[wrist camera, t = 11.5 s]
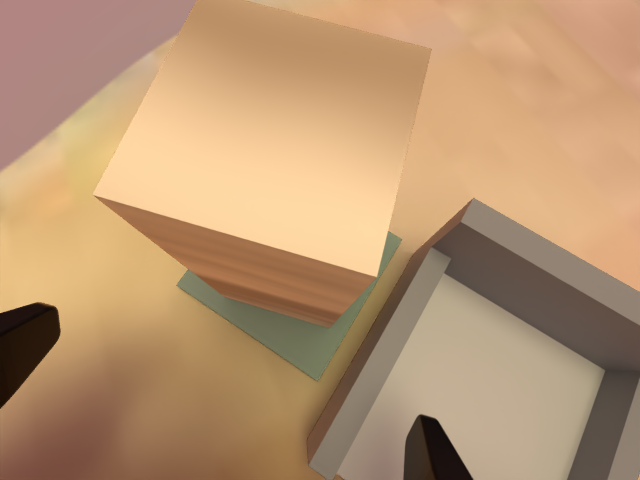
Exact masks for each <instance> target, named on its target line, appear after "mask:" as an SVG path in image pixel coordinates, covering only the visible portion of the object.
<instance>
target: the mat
mask: <svg viewBox="0 0 640 480" xmlns="http://www.w3.org/2000/svg"><path fill="white" fill-rule="evenodd" d="M401 241H402V239H401V238H399V237H397V236H396V235H394V234H392V233H391V232H389V231H388V233H387V237H386V241H385V246H384V250H383V254H382V258H381V262H380V266H379V270H378V275H377V278H376V279H375V280H374V281H373V282H372V283H371V284H370V285H369V286H368V287H367V288H366V289H365V290H364V292H363V293H362V294H361V295H360V296H359V297H358V298H357V299H356V300H355V301H354V302H353V303H352V304H351V305H350V307H349V308H348V309H347V310H346V311H345V312H344V313H343V314H342V315H341V316H340V317H339V318H338V319H337V320H336V322H335V323H334V324H333V325H332V326H331V327H330V328H326V327H323V326H319V325H316V324H313V323H309V322H306V321H303V320H299V319H296V318H292V317H289V316H286V315H282V314H279V313H276V312H272V311H269V310H266V309H262V308H259V307H255V306H252V305H249V304H245V303H242V302H239V301H235V300H232V299H229V298H225V297H224V296H222V295H221V294H220V293H218V292H217V291H216V290H215V289H213V288H212V287H211V286H209V285H208V284H207V283H206V282H204V281H203V280H202V279H200V278H199V277H198V276H197V275H195V274H194V273H193V272H191V271H190V270H189V269H188V271H187V272H186V273H185V274H184V276H183V277H182V278H181V280H180V281H179V282H178V283H177V286H178V287H180V288H181V289H183V290H184V291H185V292H187V293H188V294H190V295H191V296H193V297H194V298H196V299H197V300H199V301H200V302H202V303H203V304H205V305H206V306H208V307H209V308H210V309H212V310H213V311H215V312H216V313H218V314H219V315H221V316H222V317H224V318H225V319H227V320H228V321H230V322H231V323H233V324H234V325H235V326H237V327H238V328H240V329H241V330H243V331H244V332H246V333H247V334H249V335H250V336H252V337H253V338H255V339H256V340H257V341H259V342H260V343H262V344H263V345H265V346H266V347H268V348H269V349H271V350H272V351H274V352H275V353H277V354H278V355H280V356H281V357H282V358H284V359H285V360H287V361H288V362H290V363H291V364H293V365H294V366H296V367H297V368H299V369H300V370H302V371H303V372H305V373H306V374H307V375H309V376H310V377H312V378H313V379H315V380H316V381H318V380H319V379H320V377H321V375H322V373H323V372H324V370H325V368H326V367H327V365H328V363H329V362H330V360H331V358H332V357H333V355H334V353H335V352H336V350H337V348H338V347H339V345H340V343H341V342H342V340H343V338H344V336H345V335H346V333H347V331H348V330H349V328H350V326H351V325H352V323H353V321H354V320H355V318H356V316H357V315H358V313H359V311H360V310H361V308H362V306H363V305H364V303H365V301H366V299H367V298H368V296H369V294H370V293H371V291H372V289H373V288H374V286H375V284H376V283H377V281H378V279H379V278H380V276H381V274H382V273H383V271H384V269H385V268H386V266H387V264H388V262H389V261H390V259H391V257H392V256H393V254H394V252H395V251H396V249H397V247H398V246H399V244H400V242H401Z"/></svg>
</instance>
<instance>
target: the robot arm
mask: <svg viewBox="0 0 640 480" xmlns="http://www.w3.org/2000/svg"><path fill="white" fill-rule="evenodd" d="M60 332H61V330H60V322H59V314H58V310H57V308H56V307H55V306H52V305H49V304H45V303H41V302H37V303H33V304H30V305H26V306H23V307H20V308H16V309H13V310H10V311H6V312H3V313H0V409H1V408H2V407H3V406H4V404H5V403H6V402H7V401H8V400H9V399H10V398H11V397H12V396H13V395H14V393H15V392H16V391H17V390H18V389H19V388H20V386H21V385H22V384H23V383H24V381H25V380H26V379H27V378H28V377H29V375H30V374H31V373H32V372H33V370H34V369H35V368H36V367H37V366H38V364H39V363H40V362H41V361H42V359H43V358H44V357H45V356H46V354H47V353H48V352H49V351H50V350H51V348H52V347H53V346H54V345H55V343H56V342H57V341H58V339H59V336H60ZM403 480H474V479H473V477H472V476H471V474H470V473H469V471H468V469H467V468H466V466H465V464H464V463H463V461H462V459H461V458H460V456H459V454H458V453H457V451H456V449H455V448H454V446H453V444H452V443H451V441H450V439H449V438H448V436H447V434H446V433H445V431H444V429H443V428H442V426H441V424H440V423H439V421H438V420H437V419H436V418H434V417H431V416H427V415H424V414H419V415H418V416H417V417H416V419H415V421H414V423H413V425H412V427H411V429H410V431H409V433H408V435H407V437H406V442H405V454H404V474H403Z"/></svg>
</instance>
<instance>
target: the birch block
mask: <svg viewBox="0 0 640 480" xmlns="http://www.w3.org/2000/svg"><path fill="white" fill-rule="evenodd" d="M431 50H432V49H430V48H426V47H422V46H418V45H414V44H411V43H407V42H403V41H399V40H395V39H391V38H388V37H384V36H380V35H376V34H372V33H368V32H365V31H361V30H357V29H353V28H349V27H345V26H342V25H338V24H334V23H330V22H326V21H322V20H319V19H315V18H311V17H307V16H303V15H299V14H296V13H292V12H288V11H284V10H280V9H276V8H273V7H269V6H265V5H261V4H257V3H253V2H250V1H246V0H197V1H196V3H195V4H194V6H193V8H192V10H191V12H190V14H189V16H188V17H187V19H186V21H185V23H184V25H183V27H182V29H181V30H180V32H179V34H178V36H177V38H176V40H175V42H174V43H173V45H172V47H171V49H170V51H169V53H168V55H167V57H166V58H165V60H164V62H163V64H162V66H161V68H160V70H159V71H158V73H157V75H156V77H155V79H154V81H153V83H152V85H151V86H150V88H149V90H148V92H147V94H146V96H145V98H144V99H143V101H142V103H141V105H140V107H139V109H138V111H137V113H136V114H135V116H134V118H133V120H132V122H131V124H130V126H129V127H128V129H127V131H126V133H125V135H124V137H123V139H122V141H121V142H120V144H119V146H118V148H117V150H116V152H115V154H114V155H113V157H112V159H111V161H110V163H109V165H108V167H107V169H106V170H105V172H104V174H103V176H102V178H101V180H100V182H99V183H98V185H97V187H96V189H95V191H94V193H93V196H95V197H96V198H97V199H99V200H100V201H101V202H102V203H104V204H105V205H106V206H108V207H109V208H110V209H111V210H113V211H114V212H115V213H117V214H118V215H119V216H120V217H122V218H123V219H124V220H126V221H127V222H128V223H129V224H131V225H132V226H133V227H135V228H136V229H137V230H138V231H140V232H141V233H142V234H144V235H145V236H146V237H148V238H149V239H150V240H151V241H153V242H154V243H155V244H157V245H158V246H159V247H160V248H162V249H163V250H164V251H166V252H167V253H168V254H169V255H171V256H172V257H173V258H175V259H176V260H177V261H178V262H180V263H181V264H182V265H184V266H185V267H186V268H188V269H189V270H190V271H191V272H193V273H194V274H195V275H197V276H198V277H199V278H200V279H202V280H203V281H204V282H206V283H207V284H208V285H209V286H211V287H212V288H213V289H215V290H216V291H217V292H218V293H220V294H221V295H222V296H224V297H225V298H229V299H232V300H235V301H239V302H242V303H245V304H249V305H252V306H255V307H259V308H262V309H266V310H269V311H272V312H276V313H279V314H282V315H286V316H289V317H292V318H296V319H299V320H303V321H306V322H309V323H313V324H316V325H319V326H323V327H326V328H330V327H331V326H332V325H333V324H334V323H335V322H336V320H337V319H338V318H339V317H340V316H341V315H342V314H343V313H344V312H345V311H346V310H347V309H348V308H349V307H350V305H351V304H352V303H353V302H354V301H355V300H356V299H357V298H358V297H359V296H360V295H361V294H362V293H363V292H364V290H365V289H366V288H367V287H368V286H369V285H370V284H371V283H372V282H373V281H374V280H375V279H376V278H377V275H378V270H379V266H380V262H381V258H382V254H383V250H384V246H385V241H386V237H387V233H388V229H389V225H390V221H391V216H392V212H393V208H394V204H395V200H396V196H397V191H398V187H399V183H400V179H401V175H402V171H403V167H404V162H405V158H406V154H407V150H408V146H409V142H410V137H411V133H412V129H413V125H414V121H415V117H416V113H417V108H418V104H419V100H420V96H421V92H422V88H423V83H424V79H425V75H426V71H427V67H428V63H429V58H430V54H431Z"/></svg>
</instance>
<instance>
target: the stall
mask: <svg viewBox="0 0 640 480" xmlns="http://www.w3.org/2000/svg"><path fill="white" fill-rule="evenodd" d="M419 414H424V415H427V416H431V417H434V418H436V419H437V420H438V421H439V423H440V424H441V426H442V428H443V429H444V431H445V433H446V434H447V436H448V438H449V439H450V441H451V443H452V444H453V446H454V448H455V449H456V451H457V453H458V454H459V456H460V458H461V459H462V461H463V463H464V464H465V466H466V468H467V469H468V471H469V473H470V474H471V476H472V477H473V479H474V480H638V477H639V474H640V292H639V291H637V290H635V289H633V288H632V287H630V286H628V285H626V284H625V283H623V282H621V281H619V280H617V279H616V278H614V277H612V276H610V275H609V274H607V273H605V272H603V271H602V270H600V269H598V268H596V267H595V266H593V265H591V264H589V263H587V262H586V261H584V260H582V259H580V258H579V257H577V256H575V255H573V254H572V253H570V252H568V251H566V250H565V249H563V248H561V247H559V246H557V245H556V244H554V243H552V242H550V241H549V240H547V239H545V238H543V237H542V236H540V235H538V234H536V233H535V232H533V231H531V230H529V229H528V228H526V227H524V226H522V225H520V224H519V223H517V222H515V221H513V220H512V219H510V218H508V217H506V216H505V215H503V214H501V213H499V212H498V211H496V210H494V209H492V208H490V207H489V206H487V205H485V204H483V203H482V202H480V201H478V200H476V199H475V198H473V199H472V200H471V201H470V202H469V203H468V204H467V205H465V206H464V207H463V208H462V209H461V210H460V211H459V212H458V213H457V214H456V215H455V216H454V217H453V218H452V219H450V220H449V221H448V222H447V223H446V224H445V225H444V226H443V227H442V228H441V229H440V230H439V231H438V232H436V233H435V234H434V235H433V236H432V237H431V238H430V239H429V240H428V241H427V242H426V243H425V244H424V245H422V246H421V247H420V248H419V249H418V250H417V251H416V252H415V253H414V254H413V256H412V258H411V260H410V261H409V263H408V265H407V267H406V268H405V270H404V272H403V274H402V275H401V277H400V279H399V281H398V282H397V284H396V286H395V287H394V289H393V291H392V293H391V294H390V296H389V298H388V300H387V301H386V303H385V305H384V307H383V308H382V310H381V312H380V314H379V315H378V317H377V319H376V321H375V322H374V324H373V326H372V327H371V329H370V331H369V333H368V334H367V336H366V338H365V340H364V341H363V343H362V345H361V347H360V348H359V350H358V352H357V354H356V355H355V357H354V359H353V361H352V362H351V364H350V366H349V367H348V369H347V371H346V373H345V374H344V376H343V378H342V380H341V381H340V383H339V385H338V387H337V388H336V390H335V392H334V394H333V395H332V397H331V399H330V401H329V402H328V404H327V406H326V407H325V409H324V411H323V413H322V414H321V416H320V418H319V420H318V421H317V423H316V425H315V427H314V428H313V430H312V432H311V434H310V435H309V437H308V439H307V452H308V466H309V467H311V468H312V469H313V470H315V471H316V472H318V473H319V474H320V475H322V476H323V477H325V478H326V479H327V480H333V479H334V477H335V475H336V474H338V475H339V476H341V477H342V478H343V479H345V480H403V474H404V454H405V442H406V437H407V435H408V433H409V431H410V429H411V427H412V425H413V423H414V421H415V419H416V417H417V416H418V415H419Z"/></svg>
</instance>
